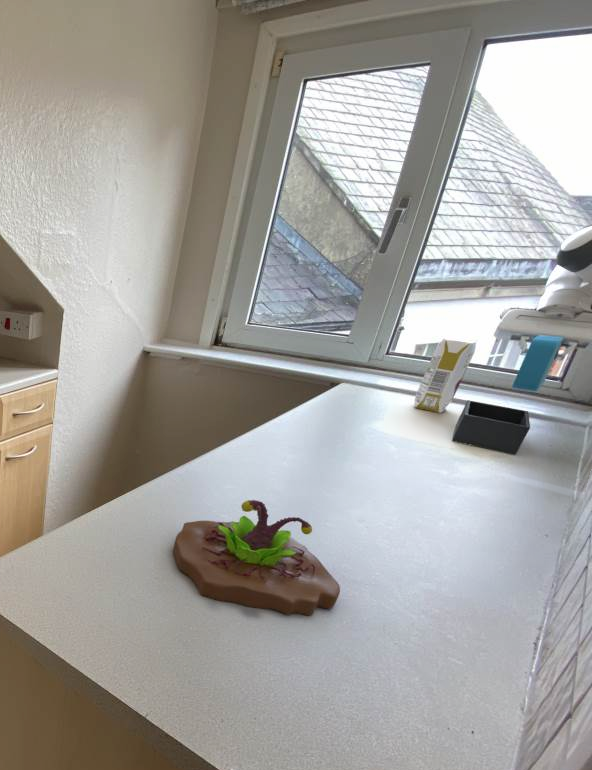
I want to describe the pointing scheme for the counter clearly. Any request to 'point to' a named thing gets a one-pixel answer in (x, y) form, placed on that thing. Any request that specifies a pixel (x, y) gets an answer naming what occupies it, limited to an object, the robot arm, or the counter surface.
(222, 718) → the counter surface
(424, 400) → the juice carton
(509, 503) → the counter surface
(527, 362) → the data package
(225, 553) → the plant
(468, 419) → the box
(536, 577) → the counter surface
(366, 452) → the counter surface
